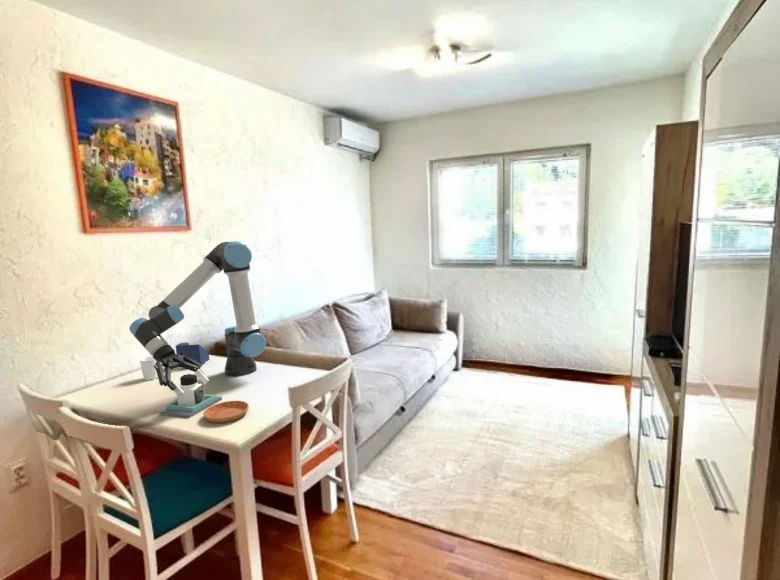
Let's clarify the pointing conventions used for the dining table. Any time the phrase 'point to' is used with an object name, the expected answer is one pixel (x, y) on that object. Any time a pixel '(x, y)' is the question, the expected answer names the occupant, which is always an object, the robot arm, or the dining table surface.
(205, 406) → the dock
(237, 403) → the saucer
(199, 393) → the medicine bottle
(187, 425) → the dining table surface
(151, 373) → the white cup
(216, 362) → the dining table surface
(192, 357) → the blue wedge block
